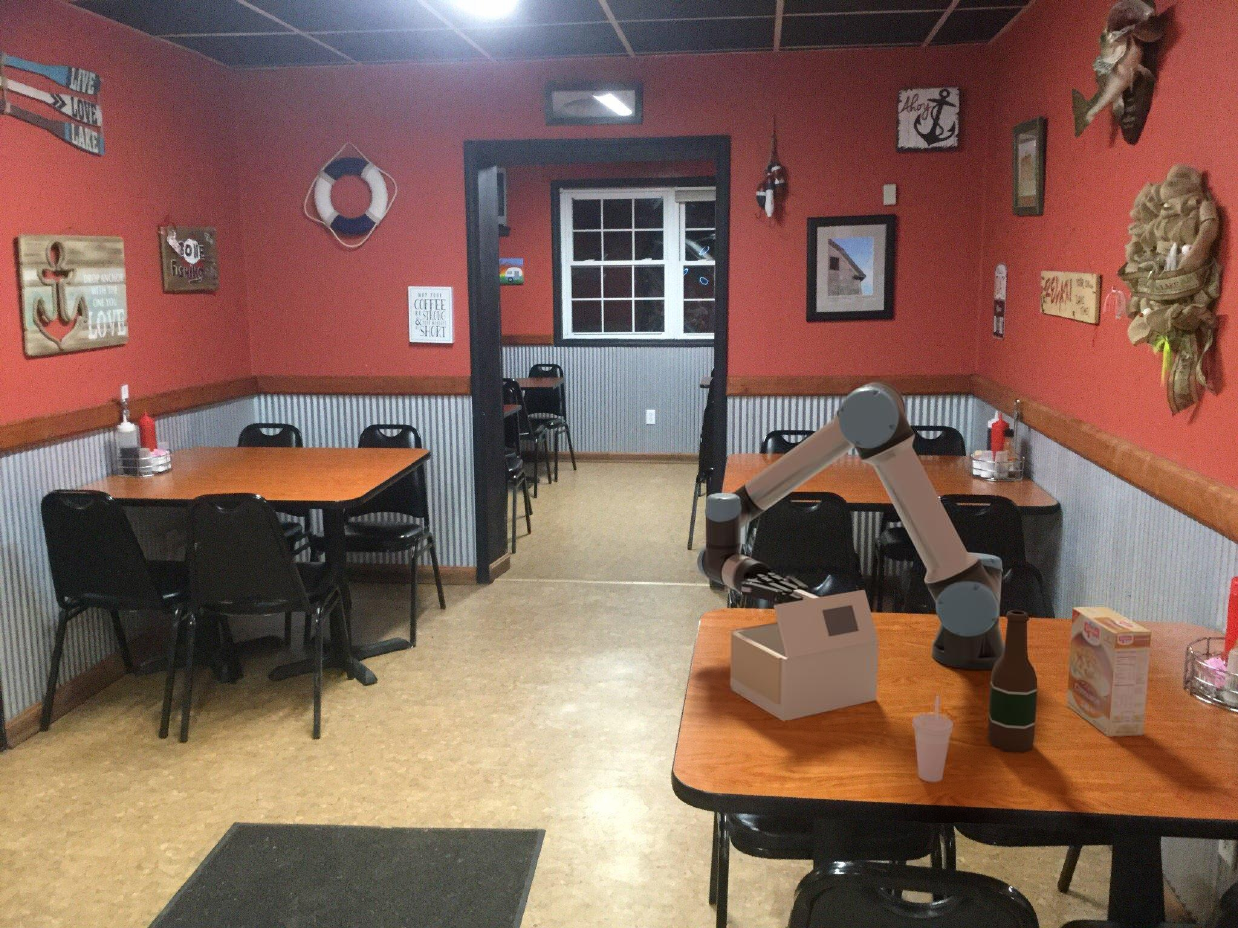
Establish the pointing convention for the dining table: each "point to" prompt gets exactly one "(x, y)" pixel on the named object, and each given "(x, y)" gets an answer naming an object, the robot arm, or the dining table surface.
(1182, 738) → the dining table surface
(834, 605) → the far flap
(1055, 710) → the dining table surface
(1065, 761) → the dining table surface
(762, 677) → the carton
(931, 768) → the smoothie
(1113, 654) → the coffeecake box
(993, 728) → the beer bottle
